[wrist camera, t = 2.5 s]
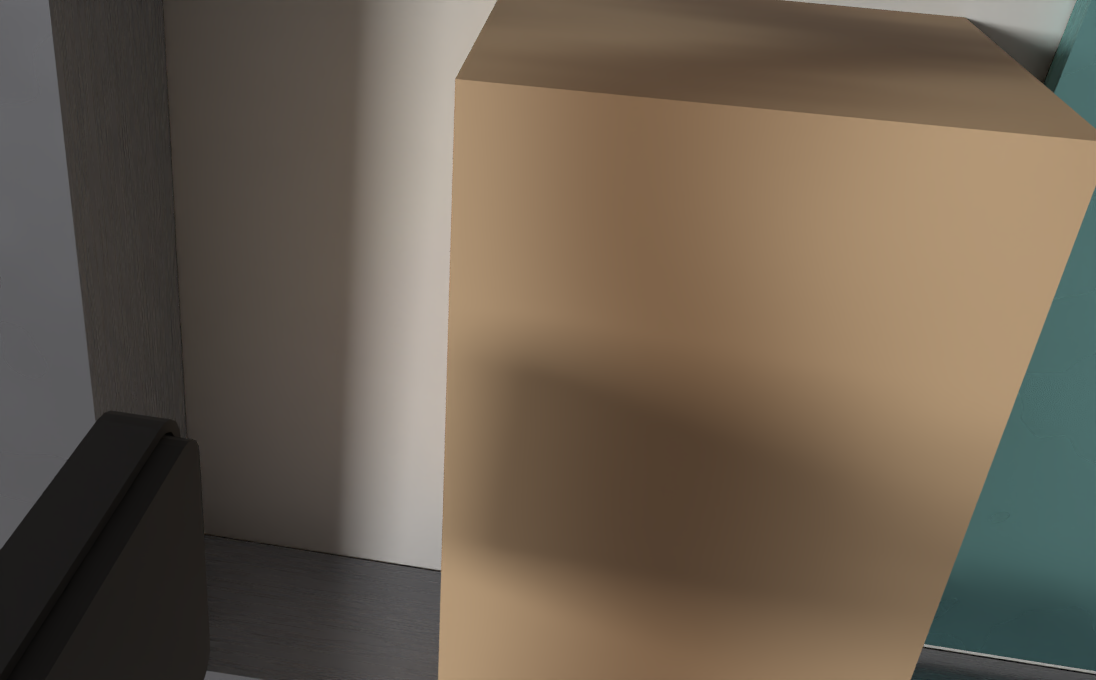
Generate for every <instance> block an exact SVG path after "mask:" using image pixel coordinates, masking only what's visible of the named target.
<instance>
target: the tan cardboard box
mask: <svg viewBox="0 0 1096 680" xmlns="http://www.w3.org/2000/svg"><path fill="white" fill-rule="evenodd" d="M1095 186H1096V129H1095V128H1094V127H1093V126H1092V125H1091V124H1089V123H1088V122H1087V121H1086V120H1085V119H1084V118H1082V117H1081V116H1080V115H1079V114H1078V113H1077V112H1075V111H1074V110H1073V109H1072V108H1071V107H1069V106H1068V105H1067V104H1066V103H1065V102H1064V101H1062V100H1061V99H1060V98H1059V97H1058V96H1057V95H1055V94H1054V93H1053V92H1052V91H1051V90H1050V89H1048V88H1047V87H1046V86H1045V85H1044V84H1043V83H1041V82H1040V81H1039V80H1038V79H1037V78H1035V77H1034V76H1033V75H1032V74H1031V73H1030V72H1028V71H1027V70H1026V69H1025V68H1024V67H1023V66H1021V65H1020V64H1019V63H1018V62H1017V61H1016V60H1014V59H1013V58H1012V57H1011V56H1010V55H1009V54H1007V53H1006V52H1005V51H1004V50H1003V49H1001V48H1000V47H999V46H998V45H997V44H996V43H994V42H993V41H992V40H991V39H990V38H989V37H987V36H986V35H985V34H984V33H983V32H982V31H980V30H979V29H978V28H977V27H976V26H975V25H973V24H972V23H971V22H970V21H969V20H967V19H966V18H964V17H953V16H943V15H932V14H921V13H911V12H900V11H890V10H879V9H868V8H858V7H847V6H837V5H826V4H815V3H805V2H794V1H783V0H497V2H496V4H495V6H494V8H493V10H492V12H491V13H490V15H489V17H488V19H487V21H486V23H485V25H484V26H483V28H482V30H481V32H480V34H479V36H478V38H477V40H476V41H475V43H474V45H473V47H472V49H471V51H470V53H469V54H468V56H467V58H466V60H465V62H464V64H463V66H462V68H461V69H460V71H459V73H458V75H457V77H456V79H455V109H454V144H453V179H452V213H451V248H450V283H449V318H448V352H447V387H446V422H445V457H444V491H443V526H442V561H441V596H440V630H439V665H438V680H911V677H912V675H913V672H914V669H915V667H916V664H917V661H918V659H919V656H920V653H921V651H922V648H923V645H924V643H925V640H926V637H927V635H928V632H929V629H930V627H931V624H932V621H933V619H934V616H935V613H936V611H937V608H938V605H939V603H940V600H941V597H942V595H943V592H944V589H945V587H946V584H947V581H948V579H949V576H950V573H951V571H952V568H953V565H954V563H955V560H956V557H957V555H958V552H959V549H960V547H961V544H962V541H963V539H964V536H965V533H966V531H967V528H968V525H969V523H970V520H971V517H972V515H973V512H974V509H975V507H976V504H977V501H978V499H979V496H980V493H981V491H982V488H983V485H984V483H985V480H986V477H987V475H988V472H989V469H990V467H991V464H992V461H993V459H994V456H995V453H996V451H997V448H998V445H999V443H1000V440H1001V437H1002V435H1003V432H1004V429H1005V427H1006V424H1007V421H1008V419H1009V416H1010V413H1011V411H1012V408H1013V405H1014V403H1015V400H1016V397H1017V395H1018V392H1019V389H1020V386H1021V384H1022V381H1023V378H1024V376H1025V373H1026V370H1027V368H1028V365H1029V362H1030V360H1031V357H1032V354H1033V352H1034V349H1035V346H1036V344H1037V341H1038V338H1039V336H1040V333H1041V330H1042V328H1043V325H1044V322H1045V320H1046V317H1047V314H1048V312H1049V309H1050V306H1051V304H1052V301H1053V298H1054V296H1055V293H1056V290H1057V288H1058V285H1059V282H1060V280H1061V277H1062V274H1063V272H1064V269H1065V266H1066V264H1067V261H1068V258H1069V256H1070V253H1071V250H1072V248H1073V245H1074V242H1075V240H1076V237H1077V234H1078V232H1079V229H1080V226H1081V224H1082V221H1083V218H1084V216H1085V213H1086V210H1087V208H1088V205H1089V202H1090V200H1091V197H1092V194H1093V192H1094V189H1095Z"/></svg>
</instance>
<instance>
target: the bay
mask: <svg viewBox="0 0 1096 680" xmlns="http://www.w3.org/2000/svg"><path fill="white" fill-rule="evenodd" d="M1044 85H1045V86H1046V87H1047V88H1048V89H1050V90H1051V91H1052V92H1053V93H1054V94H1055V95H1057V96H1058V97H1059V98H1060V99H1061V100H1062V101H1064V102H1065V103H1066V104H1067V105H1068V106H1069V107H1071V108H1072V109H1073V110H1074V111H1075V112H1077V113H1078V114H1079V115H1080V116H1081V117H1082V118H1084V119H1085V120H1086V121H1087V122H1088V123H1089V124H1091V125H1092V126H1093V127H1094V128H1095V129H1096V0H1077V1H1076V4H1075V6H1074V9H1073V11H1072V14H1071V16H1070V19H1069V21H1068V24H1067V27H1066V29H1065V32H1064V34H1063V37H1062V39H1061V42H1060V44H1059V47H1058V49H1057V52H1056V54H1055V57H1054V59H1053V62H1052V64H1051V67H1050V70H1049V72H1048V75H1047V77H1046V80H1045V82H1044ZM108 411H118V412H125V413H132V414H138V415H145V416H152V417H158V418H165V419H172V420H174V421H176V422H177V424H178V426H179V428H180V435H181V438H186V421H185V402H184V384H183V366H182V348H181V330H180V312H179V294H178V275H177V257H176V239H175V221H174V203H173V185H172V166H171V148H170V130H169V112H168V94H167V76H166V57H165V39H164V21H163V3H162V0H0V549H1V548H2V547H3V546H4V544H5V543H6V542H7V540H8V539H9V538H10V536H11V535H12V534H13V532H14V531H15V530H16V528H17V527H18V525H19V524H20V523H21V521H22V520H23V519H24V517H25V516H26V515H27V513H28V512H29V511H30V509H31V508H32V507H33V505H34V504H35V503H36V501H37V500H38V499H39V497H40V496H41V495H42V493H43V492H44V491H45V489H46V488H47V487H48V485H49V484H50V483H51V481H52V480H53V479H54V477H55V476H56V475H57V473H58V472H59V471H60V469H61V468H62V467H63V465H64V464H65V462H66V461H67V460H68V458H69V457H70V456H71V454H72V453H73V452H74V450H75V449H76V448H77V446H78V445H79V444H80V442H81V441H82V440H83V438H84V437H85V436H86V434H87V433H88V432H89V430H90V429H91V428H92V426H93V425H94V424H95V422H96V421H97V420H98V419H99V418H100V417H101V416H102V415H103V414H104V413H105V412H108ZM204 544H205V562H206V580H207V598H208V616H209V634H210V655H209V662H208V667H207V671H206V675H205V678H204V680H438V665H439V630H440V596H441V572H437V571H431V570H424V569H418V568H412V567H405V566H399V565H393V564H386V563H380V562H374V561H367V560H361V559H355V558H348V557H342V556H336V555H329V554H323V553H317V552H310V551H304V550H298V549H291V548H285V547H279V546H272V545H266V544H260V543H253V542H247V541H241V540H234V539H228V538H222V537H215V536H209V535H204ZM924 644H928V645H934V646H941V647H947V648H953V649H960V650H966V651H972V652H979V653H985V654H991V655H998V656H1004V657H1010V658H1017V659H1023V660H1029V661H1036V662H1042V663H1048V664H1055V665H1061V666H1067V667H1074V668H1080V669H1086V670H1093V671H1096V186H1095V189H1094V192H1093V194H1092V197H1091V200H1090V202H1089V205H1088V208H1087V210H1086V213H1085V216H1084V218H1083V221H1082V224H1081V226H1080V229H1079V232H1078V234H1077V237H1076V240H1075V242H1074V245H1073V248H1072V250H1071V253H1070V256H1069V258H1068V261H1067V264H1066V266H1065V269H1064V272H1063V274H1062V277H1061V280H1060V282H1059V285H1058V288H1057V290H1056V293H1055V296H1054V298H1053V301H1052V304H1051V306H1050V309H1049V312H1048V314H1047V317H1046V320H1045V322H1044V325H1043V328H1042V330H1041V333H1040V336H1039V338H1038V341H1037V344H1036V346H1035V349H1034V352H1033V354H1032V357H1031V360H1030V362H1029V365H1028V368H1027V370H1026V373H1025V376H1024V378H1023V381H1022V384H1021V386H1020V389H1019V392H1018V395H1017V397H1016V400H1015V403H1014V405H1013V408H1012V411H1011V413H1010V416H1009V419H1008V421H1007V424H1006V427H1005V429H1004V432H1003V435H1002V437H1001V440H1000V443H999V445H998V448H997V451H996V453H995V456H994V459H993V461H992V464H991V467H990V469H989V472H988V475H987V477H986V480H985V483H984V485H983V488H982V491H981V493H980V496H979V499H978V501H977V504H976V507H975V509H974V512H973V515H972V517H971V520H970V523H969V525H968V528H967V531H966V533H965V536H964V539H963V541H962V544H961V547H960V549H959V552H958V555H957V557H956V560H955V563H954V565H953V568H952V571H951V573H950V576H949V579H948V581H947V584H946V587H945V589H944V592H943V595H942V597H941V600H940V603H939V605H938V608H937V611H936V613H935V616H934V619H933V621H932V624H931V627H930V629H929V632H928V635H927V637H926V640H925V643H924ZM911 680H1096V675H1090V674H1083V673H1077V672H1071V671H1064V670H1058V669H1052V668H1045V667H1039V666H1033V665H1026V664H1020V663H1014V662H1007V661H1001V660H995V659H988V658H982V657H976V656H969V655H963V654H957V653H950V652H944V651H938V650H931V649H925V648H922V651H921V653H920V656H919V659H918V661H917V664H916V667H915V669H914V672H913V675H912V677H911Z"/></svg>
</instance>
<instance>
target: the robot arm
mask: <svg viewBox="0 0 1096 680" xmlns="http://www.w3.org/2000/svg"><path fill="white" fill-rule="evenodd" d="M209 655H210V634H209V616H208V598H207V580H206V562H205V544H204V526H203V508H202V491H201V473H200V455H199V447H198V444H197V442H196V441H195V440H193V439H187V438H181V435H180V428H179V426H178V424H177V422H176V421H174V420H172V419H165V418H158V417H152V416H145V415H138V414H132V413H125V412H118V411H108V412H105V413H104V414H103V415H102V416H101V417H100V418H99V419H98V420H97V421H96V422H95V424H94V425H93V426H92V428H91V429H90V430H89V432H88V433H87V434H86V436H85V437H84V438H83V440H82V441H81V442H80V444H79V445H78V446H77V448H76V449H75V450H74V452H73V453H72V454H71V456H70V457H69V458H68V460H67V461H66V462H65V464H64V465H63V467H62V468H61V469H60V471H59V472H58V473H57V475H56V476H55V477H54V479H53V480H52V481H51V483H50V484H49V485H48V487H47V488H46V489H45V491H44V492H43V493H42V495H41V496H40V497H39V499H38V500H37V501H36V503H35V504H34V505H33V507H32V508H31V509H30V511H29V512H28V513H27V515H26V516H25V517H24V519H23V520H22V521H21V523H20V524H19V525H18V527H17V528H16V530H15V531H14V532H13V534H12V535H11V536H10V538H9V539H8V540H7V542H6V543H5V544H4V546H3V547H2V548H1V549H0V680H204V678H205V675H206V671H207V667H208V662H209Z"/></svg>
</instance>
